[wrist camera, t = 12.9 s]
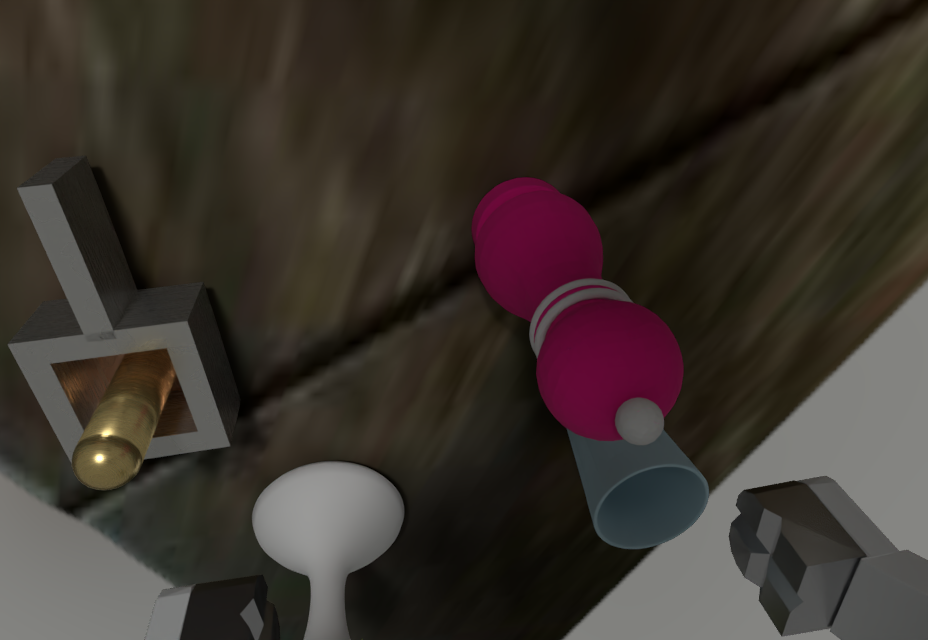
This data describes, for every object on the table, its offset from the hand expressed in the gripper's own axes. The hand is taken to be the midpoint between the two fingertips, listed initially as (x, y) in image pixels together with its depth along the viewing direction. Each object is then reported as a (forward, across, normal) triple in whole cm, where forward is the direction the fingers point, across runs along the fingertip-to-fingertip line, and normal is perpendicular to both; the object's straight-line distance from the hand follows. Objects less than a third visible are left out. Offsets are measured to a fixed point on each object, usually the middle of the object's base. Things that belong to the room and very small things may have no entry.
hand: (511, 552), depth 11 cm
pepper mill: (+29, -7, +7) cm, 31 cm away
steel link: (+28, +17, +8) cm, 34 cm away
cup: (+29, -13, +23) cm, 39 cm away
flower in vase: (+29, +8, +28) cm, 41 cm away
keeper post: (+29, +17, +13) cm, 36 cm away
